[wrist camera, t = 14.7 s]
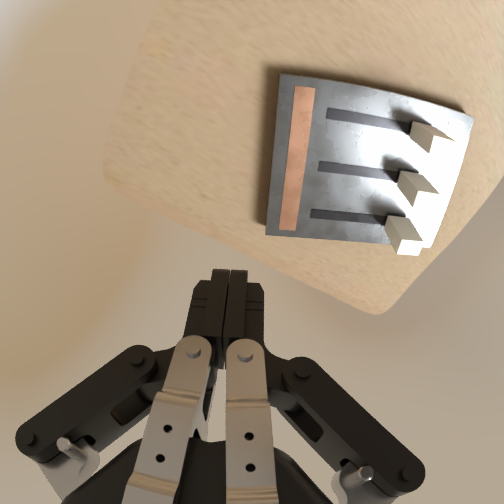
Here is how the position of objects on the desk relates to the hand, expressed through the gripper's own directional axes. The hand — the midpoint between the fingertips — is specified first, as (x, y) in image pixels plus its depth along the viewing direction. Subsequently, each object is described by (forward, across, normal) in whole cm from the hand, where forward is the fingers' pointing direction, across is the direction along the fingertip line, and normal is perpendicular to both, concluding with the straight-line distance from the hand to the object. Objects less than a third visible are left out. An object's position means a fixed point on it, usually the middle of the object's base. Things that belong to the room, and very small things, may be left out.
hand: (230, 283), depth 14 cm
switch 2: (+21, -19, -2) cm, 28 cm away
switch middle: (+21, -19, +4) cm, 28 cm away
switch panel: (+24, -14, +4) cm, 28 cm away
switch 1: (+21, -18, +10) cm, 30 cm away
